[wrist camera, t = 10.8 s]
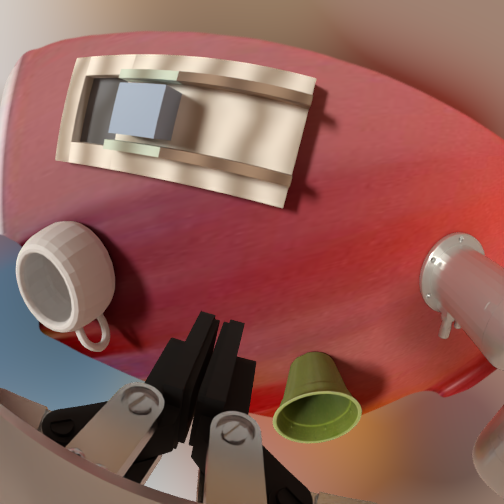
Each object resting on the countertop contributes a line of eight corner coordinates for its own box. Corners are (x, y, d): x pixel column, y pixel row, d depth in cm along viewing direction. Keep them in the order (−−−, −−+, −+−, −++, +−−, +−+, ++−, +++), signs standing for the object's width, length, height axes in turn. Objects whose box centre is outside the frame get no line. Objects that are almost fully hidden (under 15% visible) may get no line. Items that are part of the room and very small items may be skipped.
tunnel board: (314, 83, 30) (318, 72, 26) (282, 204, 36) (282, 212, 31) (86, 61, 31) (67, 54, 26) (65, 159, 36) (44, 161, 32)
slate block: (182, 93, 30) (166, 84, 25) (170, 140, 32) (153, 138, 27) (139, 90, 30) (119, 82, 25) (129, 134, 32) (108, 132, 27)
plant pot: (282, 396, 46) (280, 447, 35) (270, 345, 42) (265, 398, 32) (349, 386, 44) (360, 436, 33) (347, 332, 40) (363, 383, 30)
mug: (35, 241, 42) (-2, 260, 32) (89, 198, 38) (45, 212, 29) (91, 340, 47) (63, 371, 38) (154, 320, 43) (126, 357, 34)
